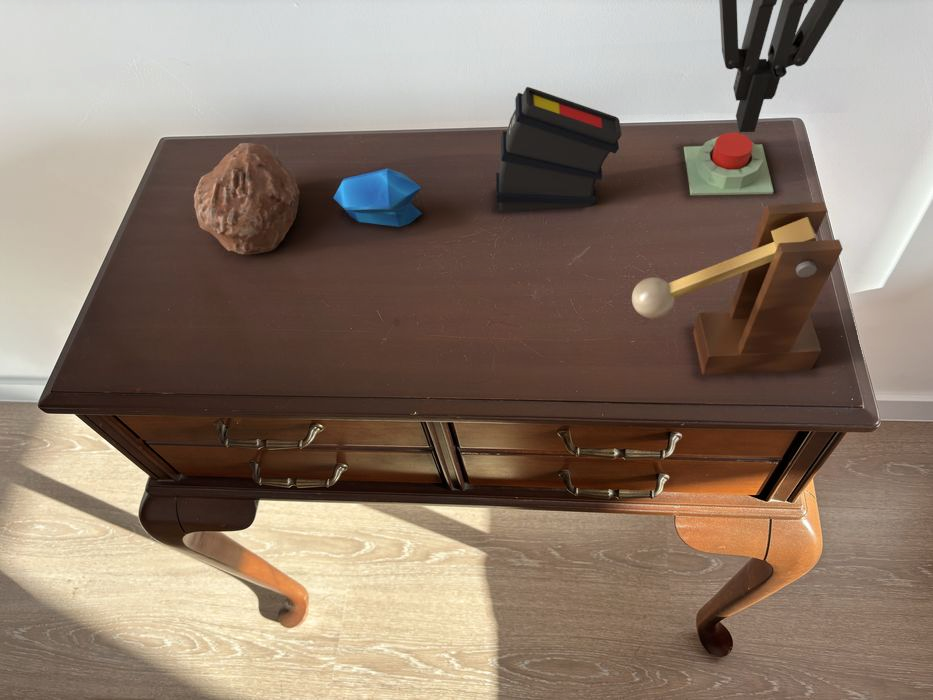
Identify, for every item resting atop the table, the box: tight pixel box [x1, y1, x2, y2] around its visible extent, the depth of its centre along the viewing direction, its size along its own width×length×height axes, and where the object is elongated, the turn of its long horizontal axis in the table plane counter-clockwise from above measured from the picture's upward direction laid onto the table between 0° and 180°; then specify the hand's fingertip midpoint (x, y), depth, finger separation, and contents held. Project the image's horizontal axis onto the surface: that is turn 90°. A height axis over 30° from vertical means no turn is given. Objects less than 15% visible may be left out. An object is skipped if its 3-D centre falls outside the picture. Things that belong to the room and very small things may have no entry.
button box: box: [683, 136, 775, 196], centre depth 80 cm, size 9×8×3 cm
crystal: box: [333, 168, 422, 228], centre depth 79 cm, size 7×9×12 cm
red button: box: [712, 132, 753, 170], centre depth 79 cm, size 4×4×2 cm
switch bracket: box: [692, 201, 843, 376], centre depth 60 cm, size 10×6×18 cm, turn 90°
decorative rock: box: [193, 142, 301, 256], centre depth 80 cm, size 13×11×10 cm
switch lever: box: [631, 217, 819, 320], centre depth 57 cm, size 15×4×4 cm
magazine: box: [495, 86, 622, 212], centre depth 77 cm, size 4×13×15 cm, turn 89°
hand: (745, 123), depth 72 cm, fingers closed
